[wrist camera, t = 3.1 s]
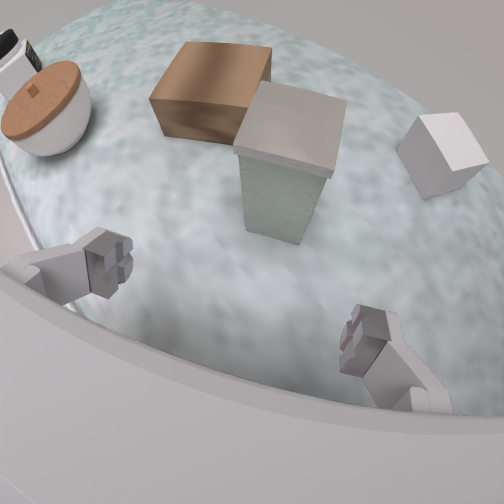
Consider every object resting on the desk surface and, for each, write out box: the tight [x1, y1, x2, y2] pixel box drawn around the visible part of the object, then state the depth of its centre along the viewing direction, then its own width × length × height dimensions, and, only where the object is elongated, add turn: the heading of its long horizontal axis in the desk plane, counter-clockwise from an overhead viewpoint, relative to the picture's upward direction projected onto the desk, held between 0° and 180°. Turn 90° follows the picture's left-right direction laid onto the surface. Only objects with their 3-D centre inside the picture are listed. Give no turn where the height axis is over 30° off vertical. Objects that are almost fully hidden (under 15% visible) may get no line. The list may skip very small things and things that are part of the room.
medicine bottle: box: [0, 29, 42, 102], centre depth 28 cm, size 7×7×12 cm
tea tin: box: [233, 80, 347, 245], centre depth 20 cm, size 5×5×12 cm
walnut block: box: [149, 42, 272, 146], centre depth 26 cm, size 9×9×6 cm
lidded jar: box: [1, 61, 91, 156], centre depth 25 cm, size 11×11×9 cm
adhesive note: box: [396, 112, 489, 200], centre depth 24 cm, size 6×6×6 cm
